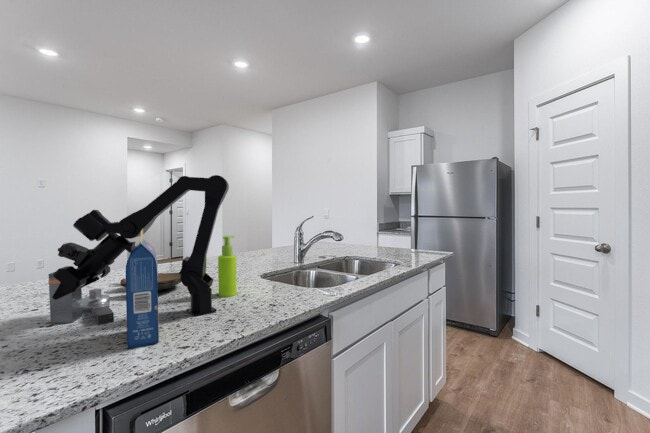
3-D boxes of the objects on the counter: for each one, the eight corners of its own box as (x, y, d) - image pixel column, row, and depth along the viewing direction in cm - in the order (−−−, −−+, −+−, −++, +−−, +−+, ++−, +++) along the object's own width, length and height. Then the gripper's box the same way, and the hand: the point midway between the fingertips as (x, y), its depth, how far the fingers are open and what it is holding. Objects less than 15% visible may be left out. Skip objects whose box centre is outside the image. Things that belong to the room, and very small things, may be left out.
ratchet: (121, 320, 88) (121, 299, 88) (89, 326, 84) (89, 305, 83) (107, 302, 104) (107, 285, 104) (79, 307, 99) (79, 289, 99)
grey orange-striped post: (82, 316, 92) (80, 269, 91) (72, 322, 87) (70, 273, 86) (61, 317, 91) (59, 270, 90) (50, 324, 86) (48, 274, 85)
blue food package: (159, 325, 84) (157, 227, 83) (159, 343, 74) (157, 230, 73) (130, 330, 81) (128, 228, 80) (126, 349, 71) (123, 232, 70)
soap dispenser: (240, 291, 117) (239, 235, 116) (232, 297, 110) (232, 237, 109) (224, 291, 118) (223, 235, 117) (215, 296, 111) (214, 236, 110)
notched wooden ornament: (116, 303, 104) (116, 279, 104) (123, 283, 130) (122, 263, 130) (193, 294, 114) (192, 272, 114) (184, 277, 141) (184, 259, 141)
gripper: (97, 229, 98) (55, 268, 96) (61, 235, 79) (8, 283, 78) (127, 255, 100) (87, 294, 98) (98, 267, 81) (48, 314, 79)
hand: (60, 295), depth 88 cm, fingers closed on grey orange-striped post, 5 cm apart
